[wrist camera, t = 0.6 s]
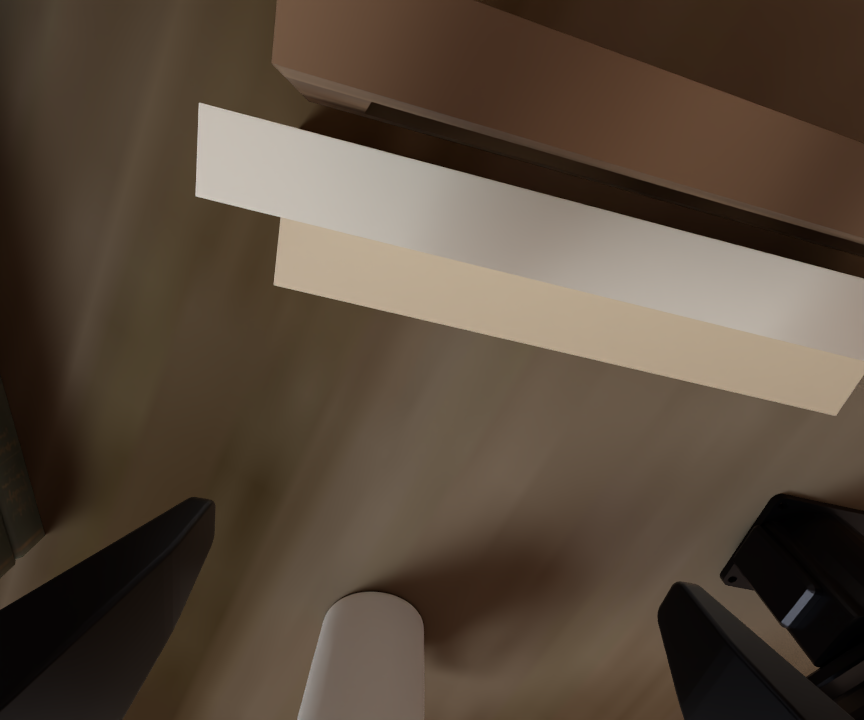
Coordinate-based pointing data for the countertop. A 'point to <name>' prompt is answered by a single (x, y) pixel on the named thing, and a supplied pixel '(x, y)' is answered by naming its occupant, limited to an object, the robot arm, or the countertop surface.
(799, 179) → the picture frame
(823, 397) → the long wooden tray
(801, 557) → the robot arm
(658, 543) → the countertop surface
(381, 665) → the mug
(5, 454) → the open lidded box
